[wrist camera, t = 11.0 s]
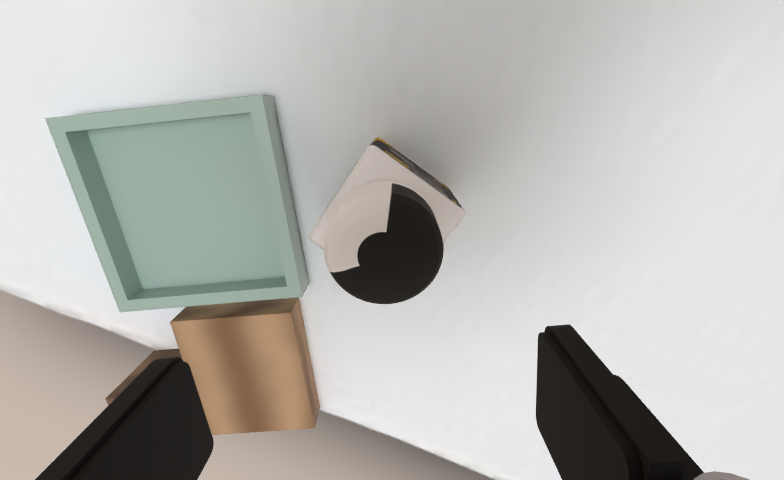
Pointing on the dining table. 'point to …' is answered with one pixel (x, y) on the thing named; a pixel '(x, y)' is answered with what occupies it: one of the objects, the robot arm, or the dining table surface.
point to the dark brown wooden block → (140, 368)
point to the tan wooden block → (250, 365)
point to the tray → (186, 201)
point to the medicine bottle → (386, 227)
